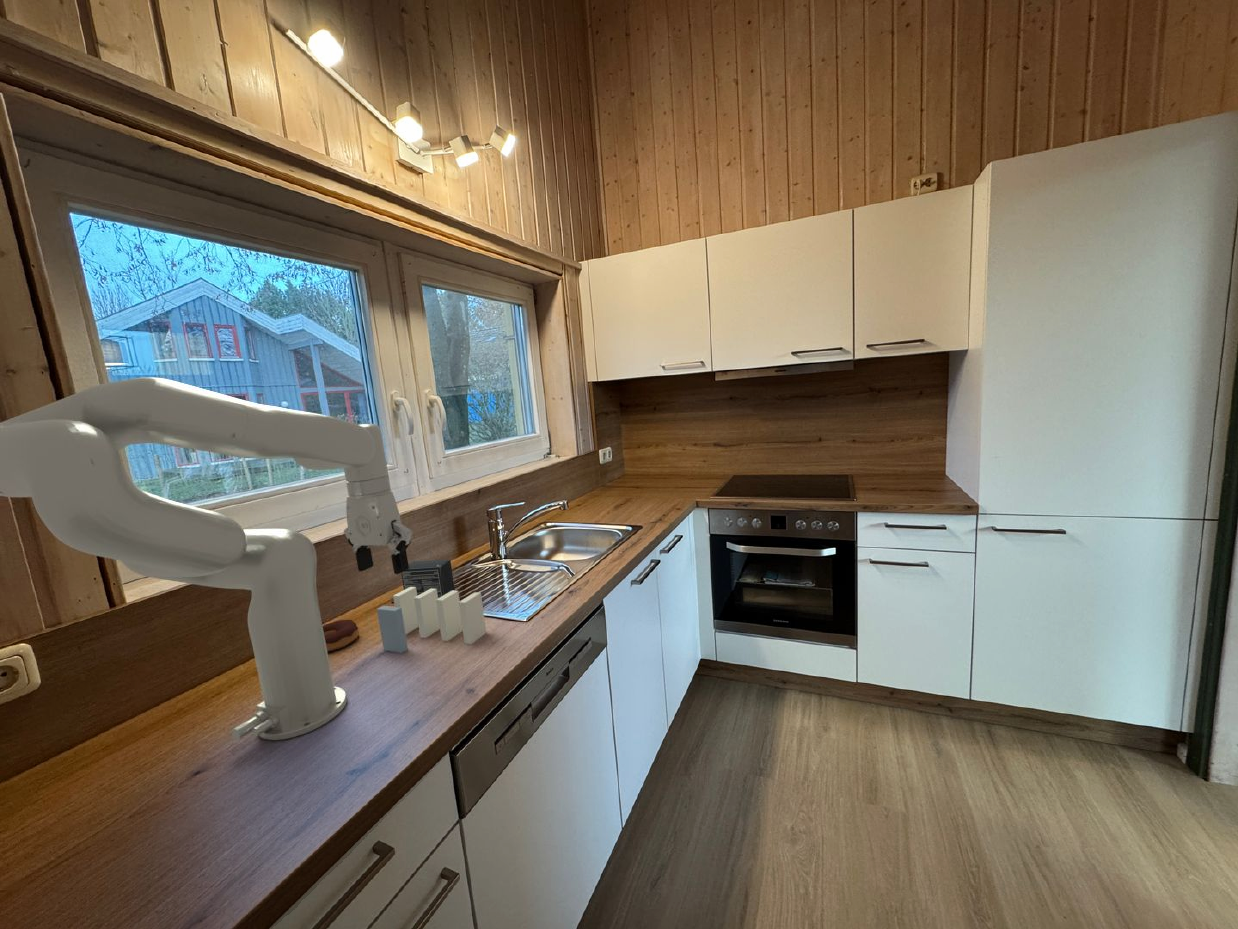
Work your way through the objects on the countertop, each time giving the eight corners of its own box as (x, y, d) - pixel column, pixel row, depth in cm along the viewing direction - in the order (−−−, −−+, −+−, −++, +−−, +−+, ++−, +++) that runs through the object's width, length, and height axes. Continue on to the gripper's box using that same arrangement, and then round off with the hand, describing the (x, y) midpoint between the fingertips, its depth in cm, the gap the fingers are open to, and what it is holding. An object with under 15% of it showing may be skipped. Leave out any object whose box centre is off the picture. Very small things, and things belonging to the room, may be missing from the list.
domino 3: (442, 627, 110) (436, 589, 109) (425, 638, 106) (419, 598, 104) (436, 626, 111) (431, 588, 110) (420, 637, 106) (413, 597, 105)
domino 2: (421, 624, 113) (415, 587, 111) (404, 635, 108) (398, 596, 107) (416, 624, 113) (410, 586, 112) (399, 634, 109) (393, 595, 107)
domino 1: (401, 653, 100) (394, 611, 99) (383, 650, 102) (376, 609, 101) (407, 649, 102) (401, 607, 100) (389, 646, 103) (383, 605, 102)
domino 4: (463, 630, 108) (458, 590, 107) (448, 641, 103) (441, 600, 102) (458, 629, 108) (452, 590, 107) (442, 640, 104) (435, 599, 103)
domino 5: (486, 632, 106) (480, 592, 104) (471, 644, 101) (465, 602, 100) (480, 632, 106) (474, 592, 105) (464, 643, 102) (458, 602, 100)
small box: (457, 596, 127) (451, 557, 126) (446, 607, 121) (440, 566, 119) (418, 598, 129) (412, 560, 127) (405, 609, 122) (399, 569, 121)
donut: (296, 659, 102) (293, 641, 101) (320, 636, 112) (317, 620, 111) (347, 652, 103) (344, 634, 102) (367, 631, 112) (364, 614, 112)
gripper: (321, 491, 97) (337, 574, 100) (386, 491, 90) (401, 580, 93) (354, 483, 104) (368, 561, 106) (417, 482, 97) (430, 565, 100)
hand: (383, 570), depth 100 cm, fingers open, 9 cm apart
